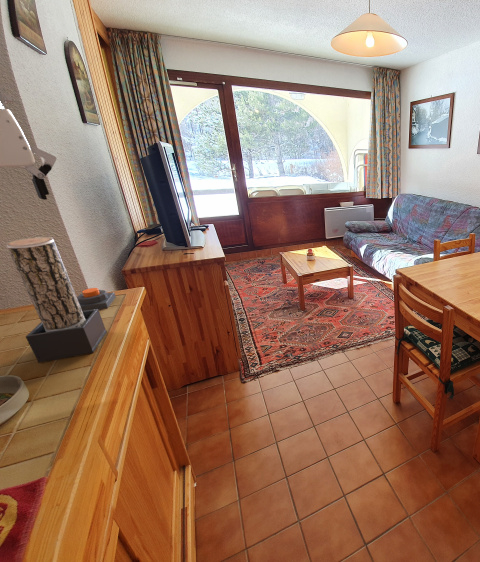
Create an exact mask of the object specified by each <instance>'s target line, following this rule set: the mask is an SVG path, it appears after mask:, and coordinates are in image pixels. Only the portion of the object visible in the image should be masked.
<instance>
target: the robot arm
mask: <svg viewBox="0 0 480 562" xmlns="http://www.w3.org/2000/svg"><path fill="white" fill-rule="evenodd" d="M13 103H14V101H13V98H12V96H11V94H5V93H4V92H1V91H0V168H22V169H24V170H25V171H27V173H29V174H30V175H31V176H32V178H31V181H32V184H33V187H34V189H35V192H36V194H37V196H38V198H39V199H40V200H43V201H46V200H48V197H47V196H49V195H50V192H49V189H48V186H47V184H46V182H45V178H46V176H47V175H48V174H49V173H50V172H51V171H52V170H53V167H54V165H55V163H56V161H57V156H55V155H53V154H51V153H49V152H47V151H44V150H42V149H40V148H38V147H36V146H34V145H31V144H29V142H28V140H27V138H26V136H25V134H24V132H23V130H22V128H21V125H20V124H19V122H18V121H17V119H16V118H15V116H14V114H13V112H12V111H11V110H10V109H7V108H5V105H6V104H13ZM34 155H36V156H38V157H39V158H42V159H43V163H42V164H41V165H40V166H39V168H37V167H36V166H34V165H35V163H36V160H35V156H34Z"/></svg>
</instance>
